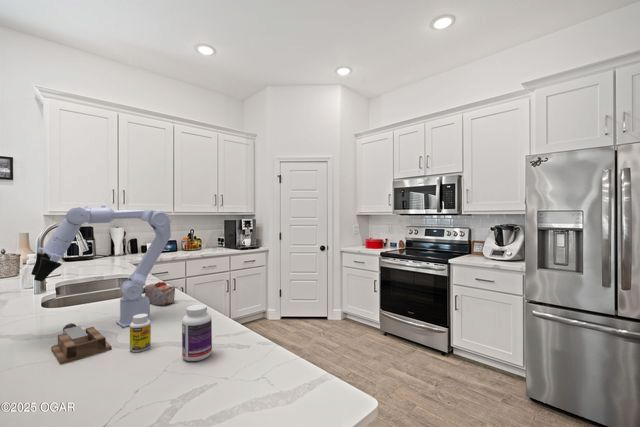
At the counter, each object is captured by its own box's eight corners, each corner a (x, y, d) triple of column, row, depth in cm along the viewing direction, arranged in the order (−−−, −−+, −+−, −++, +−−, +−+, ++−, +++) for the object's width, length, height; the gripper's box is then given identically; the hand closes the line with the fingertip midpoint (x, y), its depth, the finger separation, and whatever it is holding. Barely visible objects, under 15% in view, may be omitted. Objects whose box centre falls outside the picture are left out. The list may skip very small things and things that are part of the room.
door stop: (62, 335, 101) (62, 325, 101) (77, 332, 104) (77, 321, 104) (72, 349, 91) (72, 337, 91) (88, 344, 94) (88, 333, 94)
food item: (178, 302, 140) (178, 281, 140) (163, 307, 133) (163, 285, 132) (156, 299, 145) (156, 279, 145) (141, 304, 138) (141, 282, 137)
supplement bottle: (129, 354, 89) (129, 320, 89) (129, 347, 93) (129, 314, 93) (151, 349, 92) (151, 316, 92) (150, 343, 96) (149, 311, 96)
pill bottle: (217, 352, 90) (217, 304, 90) (198, 365, 83) (198, 312, 83) (195, 348, 93) (195, 301, 93) (175, 360, 85) (175, 309, 85)
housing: (51, 349, 92) (51, 336, 92) (98, 337, 101) (98, 325, 101) (60, 364, 83) (60, 350, 83) (111, 349, 92) (111, 336, 92)
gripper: (44, 232, 104) (19, 269, 100) (50, 238, 94) (23, 279, 90) (67, 240, 109) (44, 275, 105) (76, 246, 99) (51, 285, 95)
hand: (36, 277), depth 98 cm, fingers open, 7 cm apart
